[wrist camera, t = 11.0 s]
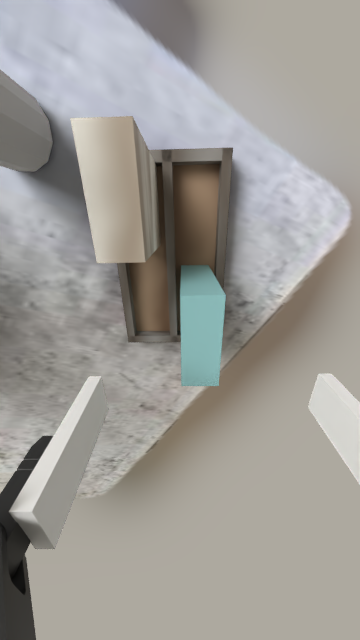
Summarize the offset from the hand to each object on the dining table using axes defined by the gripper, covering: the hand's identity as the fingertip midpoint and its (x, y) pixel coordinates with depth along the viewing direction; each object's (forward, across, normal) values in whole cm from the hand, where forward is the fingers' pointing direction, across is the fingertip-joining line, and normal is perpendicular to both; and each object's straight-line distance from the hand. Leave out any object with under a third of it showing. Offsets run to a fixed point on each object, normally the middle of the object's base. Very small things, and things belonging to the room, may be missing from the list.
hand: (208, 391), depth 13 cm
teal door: (+18, 0, 0) cm, 18 cm away
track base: (+18, -3, +5) cm, 19 cm away
